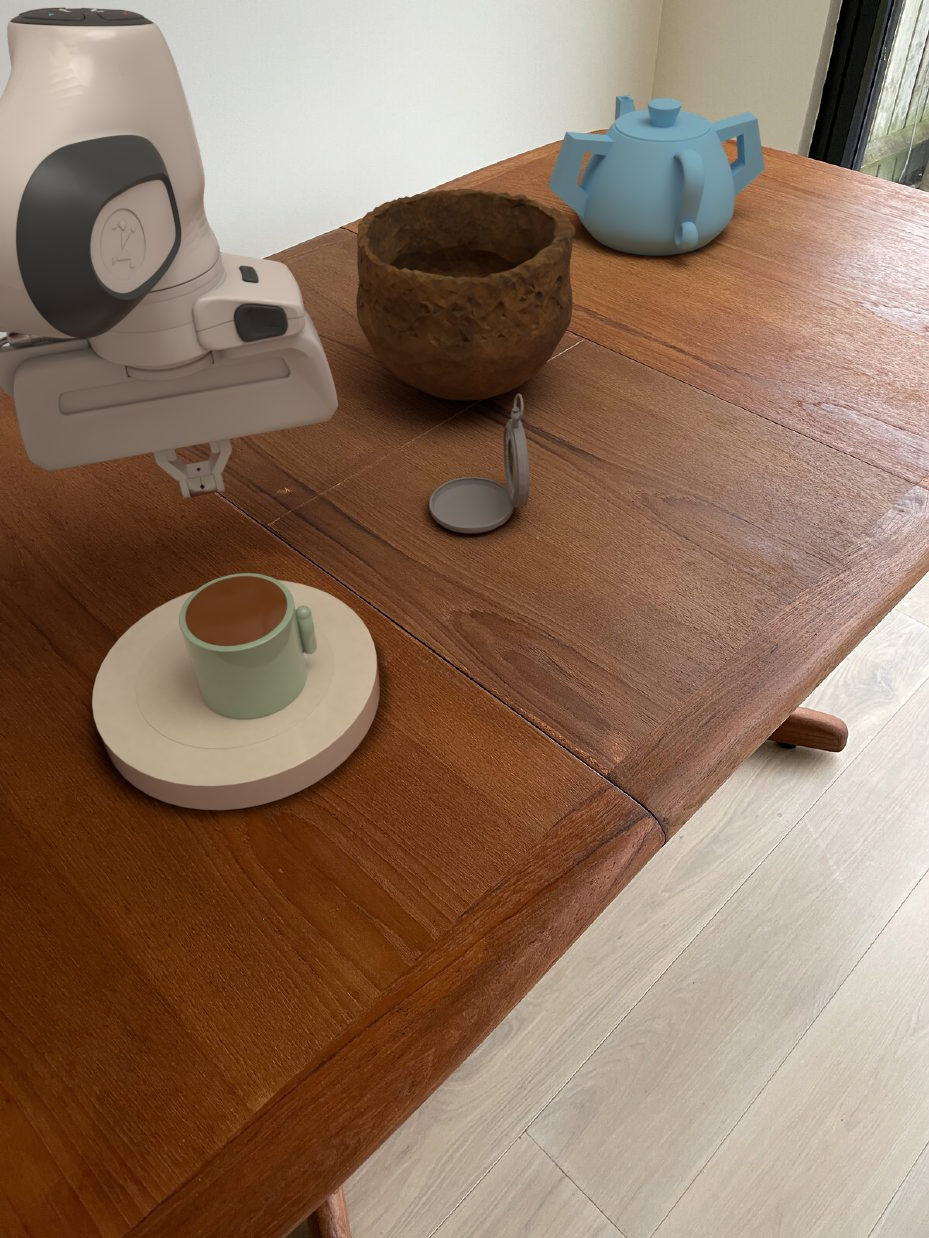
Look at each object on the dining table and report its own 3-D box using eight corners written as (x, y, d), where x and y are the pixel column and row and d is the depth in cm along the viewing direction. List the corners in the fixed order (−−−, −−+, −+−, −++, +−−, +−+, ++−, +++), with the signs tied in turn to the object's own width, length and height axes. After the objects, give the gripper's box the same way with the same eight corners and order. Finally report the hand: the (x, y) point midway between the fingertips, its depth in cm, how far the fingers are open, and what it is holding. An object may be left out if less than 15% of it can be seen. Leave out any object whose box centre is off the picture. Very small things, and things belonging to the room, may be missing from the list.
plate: (106, 842, 59) (94, 817, 57) (98, 634, 71) (89, 609, 69) (408, 769, 62) (406, 743, 60) (350, 582, 74) (346, 557, 73)
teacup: (205, 730, 61) (183, 661, 57) (194, 653, 66) (173, 584, 62) (330, 702, 63) (318, 632, 59) (311, 629, 67) (298, 559, 63)
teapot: (759, 217, 119) (780, 90, 110) (688, 281, 108) (705, 145, 99) (614, 187, 128) (622, 66, 118) (535, 243, 116) (536, 115, 107)
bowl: (609, 373, 95) (622, 214, 85) (484, 466, 85) (481, 298, 74) (455, 317, 104) (449, 166, 93) (324, 394, 93) (302, 235, 83)
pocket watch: (413, 509, 81) (404, 400, 74) (492, 468, 84) (491, 360, 77) (479, 559, 76) (477, 447, 69) (561, 513, 80) (566, 403, 73)
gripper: (-25, 359, 58) (50, 546, 67) (328, 304, 61) (352, 488, 71) (-19, 310, 62) (51, 492, 72) (310, 261, 66) (335, 440, 75)
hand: (203, 490), depth 71 cm, fingers closed
